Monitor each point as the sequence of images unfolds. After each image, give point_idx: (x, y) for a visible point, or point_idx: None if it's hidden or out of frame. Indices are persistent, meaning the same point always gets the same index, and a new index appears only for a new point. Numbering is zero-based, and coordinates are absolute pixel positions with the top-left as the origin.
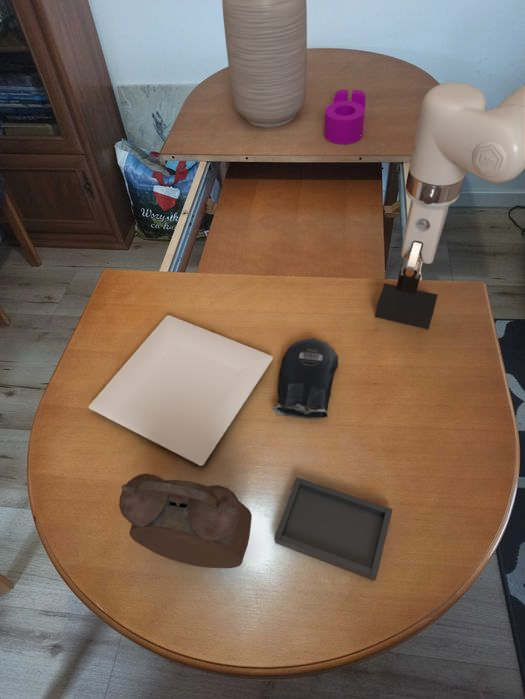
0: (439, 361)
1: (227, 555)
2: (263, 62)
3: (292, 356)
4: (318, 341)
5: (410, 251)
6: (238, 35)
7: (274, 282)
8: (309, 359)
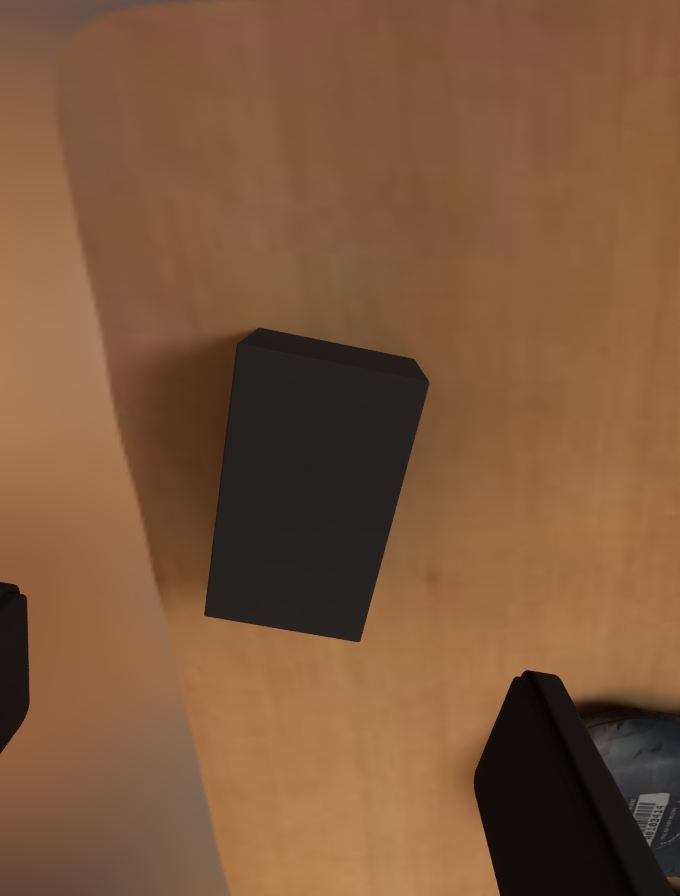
0: (620, 308)
1: None
2: None
3: None
4: None
5: (23, 705)
6: None
7: (231, 874)
8: (658, 824)
